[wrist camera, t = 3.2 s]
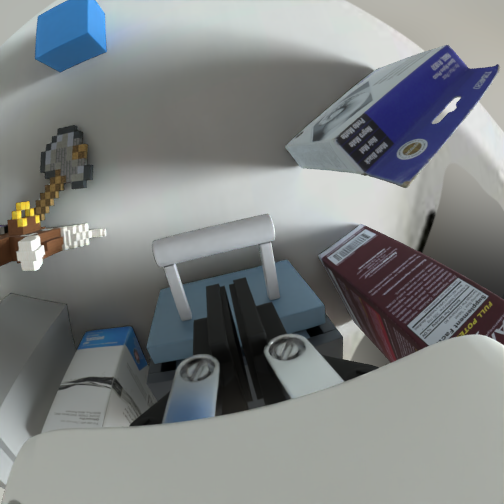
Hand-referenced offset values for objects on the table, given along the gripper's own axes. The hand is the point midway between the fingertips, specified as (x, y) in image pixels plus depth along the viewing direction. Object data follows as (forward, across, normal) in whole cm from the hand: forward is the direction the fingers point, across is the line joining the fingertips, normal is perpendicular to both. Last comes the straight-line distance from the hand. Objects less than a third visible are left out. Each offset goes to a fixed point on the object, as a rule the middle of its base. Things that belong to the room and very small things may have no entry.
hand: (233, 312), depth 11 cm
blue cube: (+9, +7, -18) cm, 22 cm away
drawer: (+8, 0, +5) cm, 10 cm away
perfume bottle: (+9, +18, +4) cm, 21 cm away
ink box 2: (+9, -11, -8) cm, 16 cm away
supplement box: (+9, -11, +5) cm, 15 cm away
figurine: (+9, +13, -7) cm, 18 cm away
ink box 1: (+9, +11, +9) cm, 17 cm away
